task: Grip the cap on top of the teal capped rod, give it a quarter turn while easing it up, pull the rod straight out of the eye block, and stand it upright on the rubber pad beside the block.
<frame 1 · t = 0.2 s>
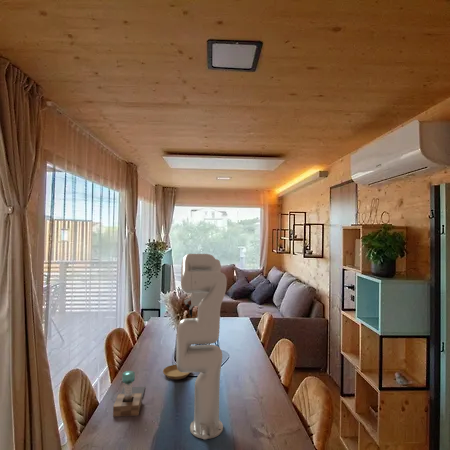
hand: (200, 316, 168), 31 cm above the table, tool pointing down, fingers open, 9 cm apart
rubber pad: (132, 393, 149), on the table
teal capped rod: (128, 391, 136), in the eye block
eye block: (127, 409, 136), on the table
plant saucer: (177, 375, 169), on the table
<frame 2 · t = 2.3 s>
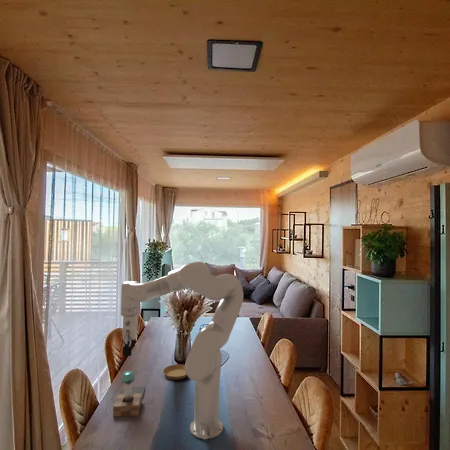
hand: (129, 351, 136), 24 cm above the table, tool pointing down, fingers open, 9 cm apart
nothing on the table moved.
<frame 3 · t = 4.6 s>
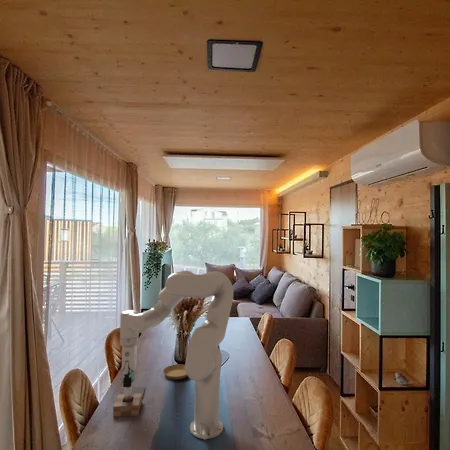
hand: (128, 383, 136), 11 cm above the table, tool pointing down, fingers closed on teal capped rod, 5 cm apart
teal capped rod: (128, 391, 136), in the eye block, touching gripper
everything else where it was.
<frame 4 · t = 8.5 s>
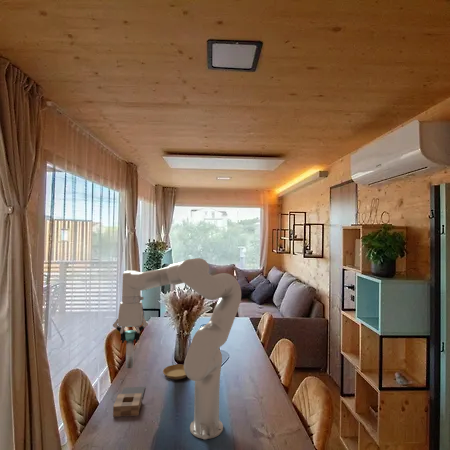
hand: (130, 341, 139), 28 cm above the table, tool pointing down, fingers closed on teal capped rod, 5 cm apart
teal capped rod: (129, 349, 139), point 24 cm above the table, touching gripper
everything else where it was.
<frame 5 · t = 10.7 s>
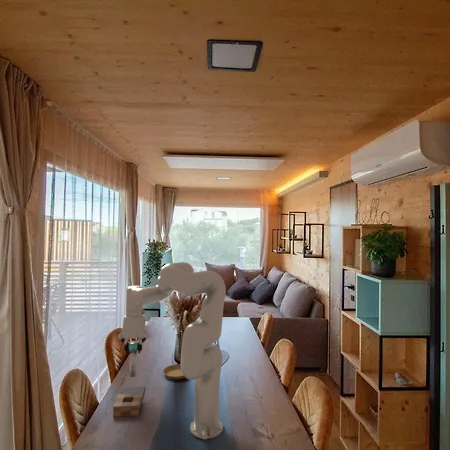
hand: (133, 351, 149), 19 cm above the table, tool pointing down, fingers closed on teal capped rod, 5 cm apart
teal capped rod: (133, 359, 149), point 16 cm above the table, touching gripper
everything else where it was.
when the fingers open (13 cm above the table, at t = 12.7 s): teal capped rod drops 1 cm, resting on rubber pad.
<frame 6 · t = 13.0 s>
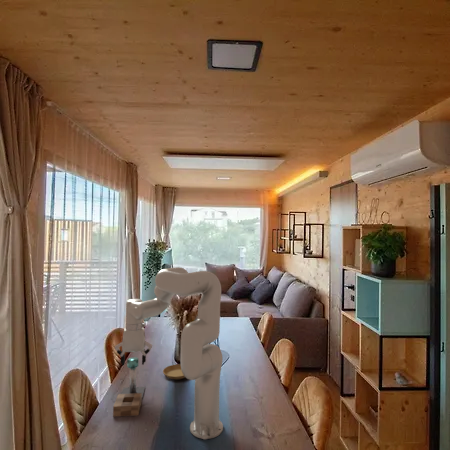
hand: (133, 363, 149), 14 cm above the table, tool pointing down, fingers open, 8 cm apart
teal capped rod: (132, 375, 149), on the rubber pad, point 8 cm above the table
everything else where it was.
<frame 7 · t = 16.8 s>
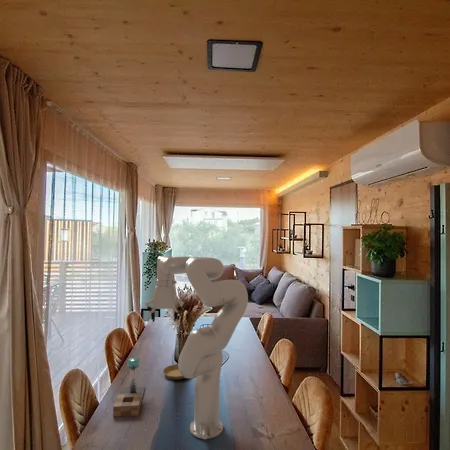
hand: (164, 320, 147), 34 cm above the table, tool pointing down, fingers open, 9 cm apart
nothing on the table moved.
at the end: teal capped rod inside the target area on the rubber pad (0.1 cm from its centre), point 8.1 cm above the rubber pad's base; teal capped rod tilted 1°; the gripper is holding nothing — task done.
